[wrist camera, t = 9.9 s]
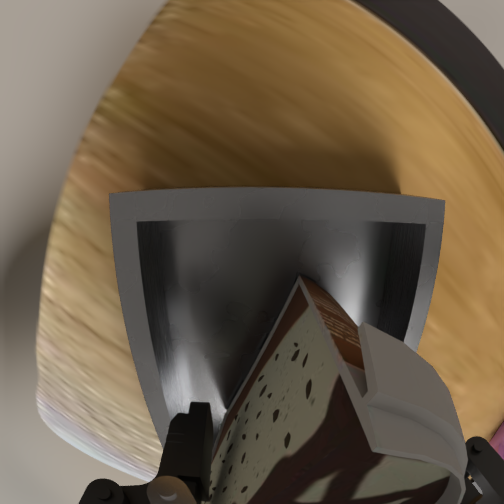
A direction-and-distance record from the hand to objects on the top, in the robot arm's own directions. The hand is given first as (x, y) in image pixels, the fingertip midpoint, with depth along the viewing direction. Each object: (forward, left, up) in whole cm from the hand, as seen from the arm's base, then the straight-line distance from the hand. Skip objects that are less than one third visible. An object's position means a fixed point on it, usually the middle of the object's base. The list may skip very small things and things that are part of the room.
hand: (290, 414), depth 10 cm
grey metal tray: (0, 0, -5) cm, 5 cm away
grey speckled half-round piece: (-2, +1, -3) cm, 4 cm away
